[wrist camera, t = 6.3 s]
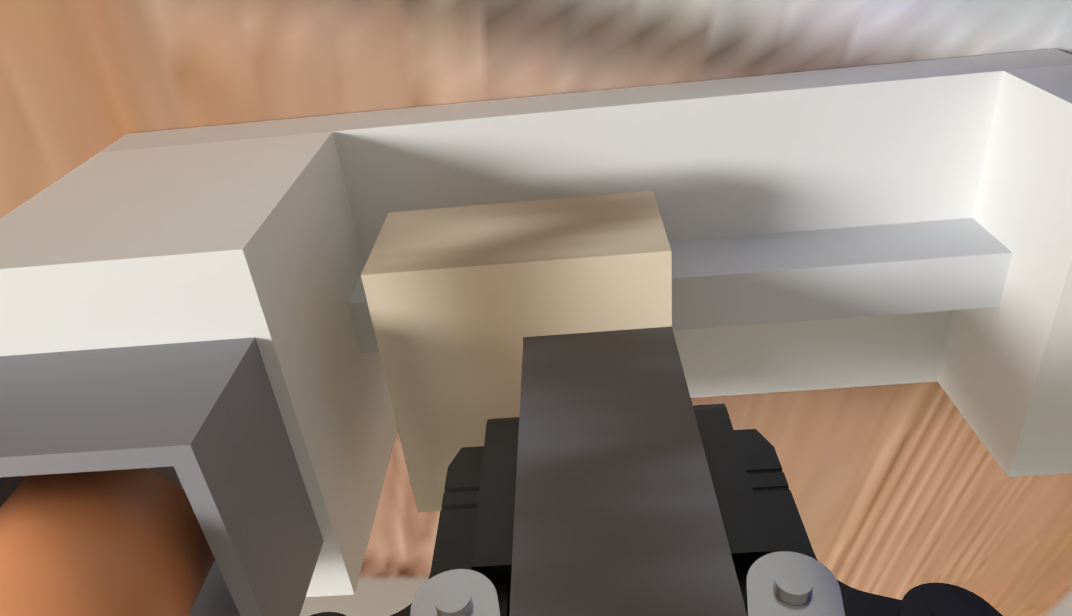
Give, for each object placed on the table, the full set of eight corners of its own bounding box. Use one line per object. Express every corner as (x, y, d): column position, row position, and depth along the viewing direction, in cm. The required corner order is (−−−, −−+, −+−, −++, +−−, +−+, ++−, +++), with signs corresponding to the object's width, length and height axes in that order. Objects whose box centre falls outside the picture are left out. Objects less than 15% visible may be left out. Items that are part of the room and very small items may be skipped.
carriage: (644, 162, 19) (758, 532, 9) (649, 375, 22) (736, 827, 12) (401, 183, 19) (234, 562, 9) (441, 389, 22) (353, 839, 12)
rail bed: (1055, 48, 19) (1552, 242, 10) (978, 363, 24) (1259, 697, 15) (127, 133, 21) (-232, 374, 11) (233, 414, 25) (46, 748, 16)
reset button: (179, 449, 13) (88, 596, 10) (241, 591, 15) (176, 746, 12) (-23, 462, 13) (-160, 610, 11) (63, 600, 15) (-38, 755, 12)
